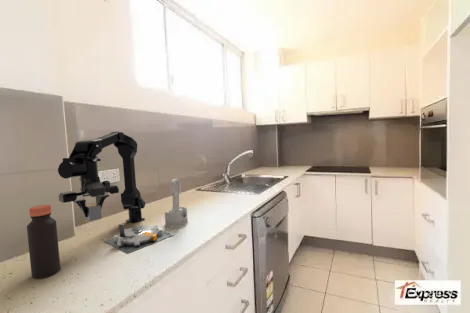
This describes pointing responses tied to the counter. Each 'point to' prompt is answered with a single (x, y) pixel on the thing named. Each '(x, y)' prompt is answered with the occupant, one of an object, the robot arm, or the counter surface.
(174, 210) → the engine component
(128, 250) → the cover plate
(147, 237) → the sprocket
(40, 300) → the counter surface
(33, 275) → the bottle
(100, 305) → the counter surface
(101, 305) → the counter surface
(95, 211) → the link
